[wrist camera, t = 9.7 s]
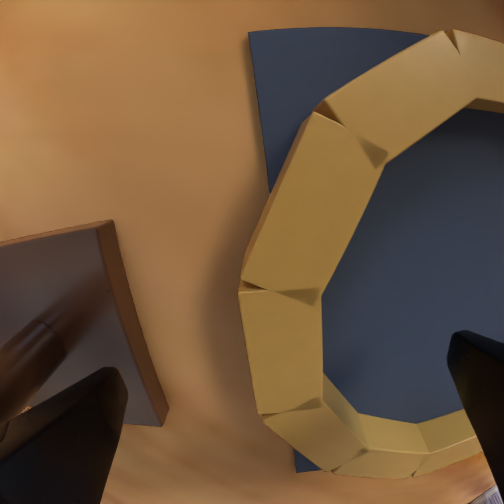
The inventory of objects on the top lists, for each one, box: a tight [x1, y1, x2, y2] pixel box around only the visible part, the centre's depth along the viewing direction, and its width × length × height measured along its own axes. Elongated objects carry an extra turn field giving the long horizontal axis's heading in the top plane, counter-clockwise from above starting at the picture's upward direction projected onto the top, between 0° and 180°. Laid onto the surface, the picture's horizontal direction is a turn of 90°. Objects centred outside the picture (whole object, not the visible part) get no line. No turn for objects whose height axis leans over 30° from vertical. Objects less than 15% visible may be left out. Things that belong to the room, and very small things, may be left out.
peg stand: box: [0, 220, 169, 427], centre depth 7 cm, size 8×8×8 cm
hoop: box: [237, 29, 504, 479], centre depth 8 cm, size 17×17×2 cm
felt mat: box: [248, 27, 504, 473], centre depth 9 cm, size 18×16×1 cm
